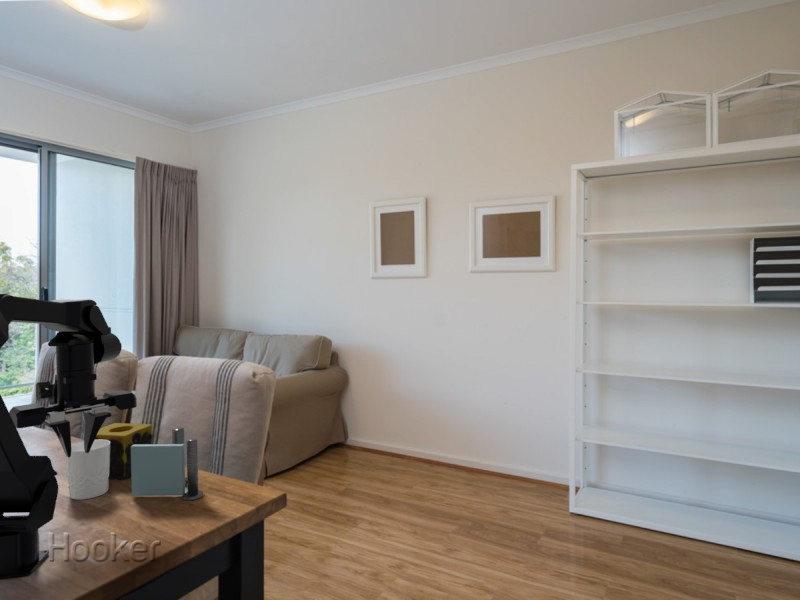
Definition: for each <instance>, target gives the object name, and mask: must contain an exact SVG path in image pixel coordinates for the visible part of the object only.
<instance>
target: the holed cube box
mask: <svg viewBox="0 0 800 600" xmlns="http://www.w3.org/2000/svg"><path fill="white" fill-rule="evenodd" d="M96 439H103V440H109V441H110V467H109V477H108V479H110V480H114V479H118V480H117V481H125V480H127V479H129V478H131V446H132V445H136V444H152V442H153V441H152V439H153V425H152V424H149V423H148V424H147V423H146V424H145V423H123V422H121V423H119V422H115V423H110V424H109V425H105V426H103V427H101V428H100V430H99V431H98V433H97V435H96V438H95V440H96Z"/></svg>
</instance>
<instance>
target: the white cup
mask: <svg viewBox="0 0 800 600" xmlns="http://www.w3.org/2000/svg"><path fill="white" fill-rule="evenodd" d="M65 466H66V467H65V468H66V477H67V484H68V489H69V497H70V499H73V500H81V501H82V500H88V499H94V498H96V497H100V496H102V495H104V494H106V493H107V492H108V490H109V479H108V477H109V467H110V441H109V440H103V439H96V440H94V442H93V444H92V447H91V449H90V451H89V453H85V451H84V440H82V441H79V442H74V443H71V457H67V456H66V455H65Z"/></svg>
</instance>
